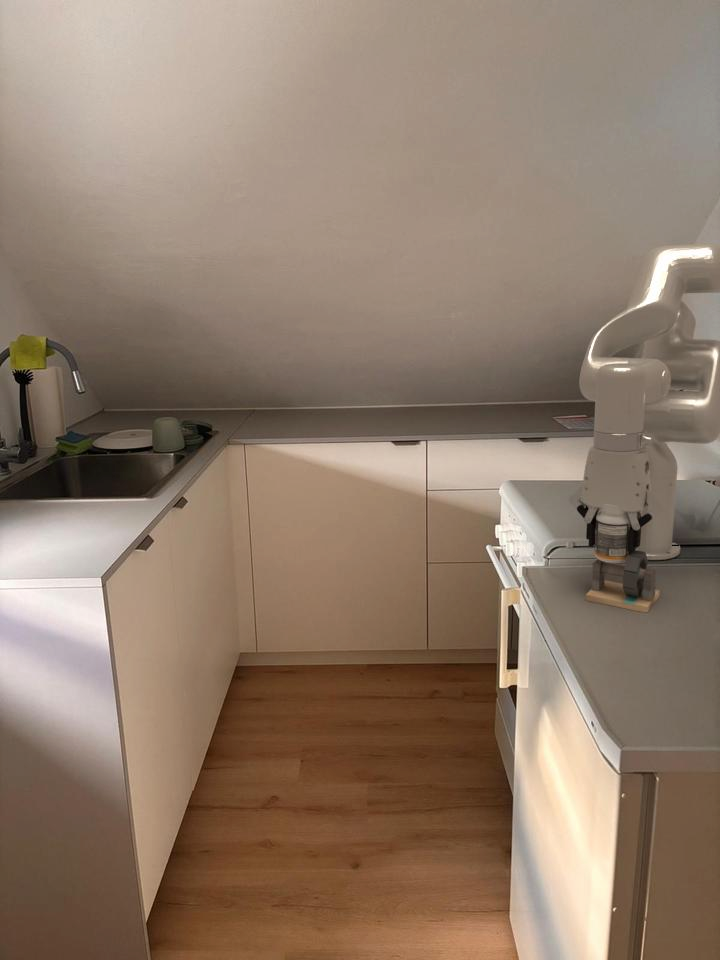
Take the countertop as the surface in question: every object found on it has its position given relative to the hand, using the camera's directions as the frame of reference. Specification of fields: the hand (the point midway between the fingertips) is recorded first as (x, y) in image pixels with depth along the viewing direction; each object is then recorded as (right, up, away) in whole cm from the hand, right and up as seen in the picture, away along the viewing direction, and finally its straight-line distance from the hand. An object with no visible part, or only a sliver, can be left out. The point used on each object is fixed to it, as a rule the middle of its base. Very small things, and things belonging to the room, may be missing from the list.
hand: (612, 546), depth 128 cm
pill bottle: (0, -2, 0) cm, 2 cm away
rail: (+2, -9, +1) cm, 9 cm away
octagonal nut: (+3, -8, -1) cm, 8 cm away
